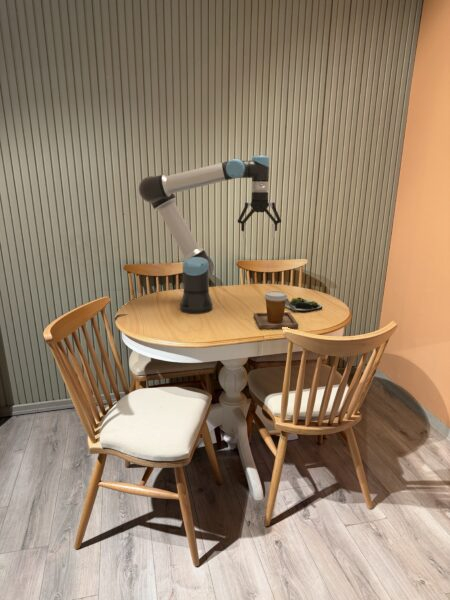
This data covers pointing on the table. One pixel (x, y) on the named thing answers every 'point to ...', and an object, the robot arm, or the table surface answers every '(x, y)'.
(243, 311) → the table surface
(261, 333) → the table surface
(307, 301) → the salad plate
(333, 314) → the table surface
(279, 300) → the disposable coffee cup
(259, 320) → the walnut tray
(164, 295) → the table surface
